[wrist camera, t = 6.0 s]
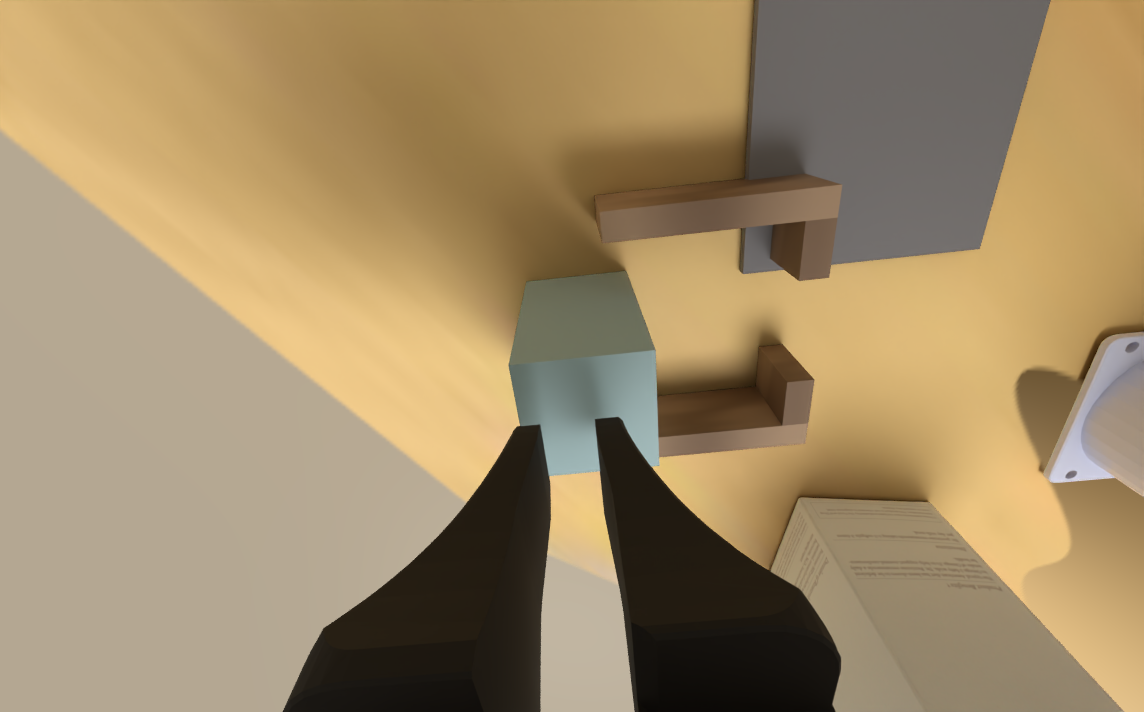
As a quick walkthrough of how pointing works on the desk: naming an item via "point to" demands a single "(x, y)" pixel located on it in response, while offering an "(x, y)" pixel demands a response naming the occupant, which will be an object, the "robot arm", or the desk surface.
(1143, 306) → the desk surface
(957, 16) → the mat
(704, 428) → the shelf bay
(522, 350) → the block
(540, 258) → the desk surface
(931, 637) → the supplement box
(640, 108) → the desk surface
